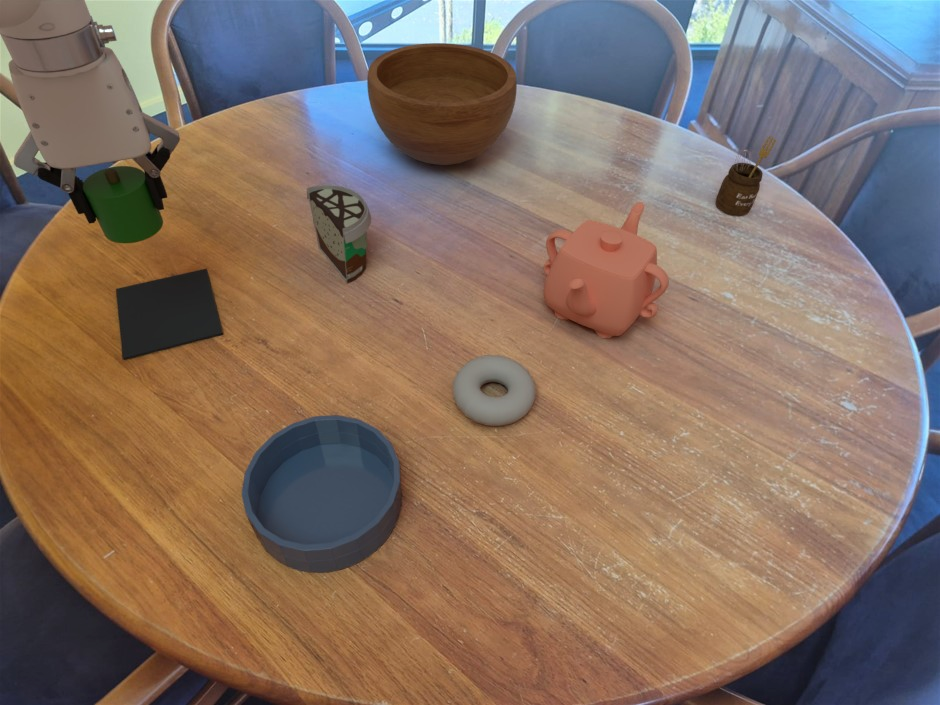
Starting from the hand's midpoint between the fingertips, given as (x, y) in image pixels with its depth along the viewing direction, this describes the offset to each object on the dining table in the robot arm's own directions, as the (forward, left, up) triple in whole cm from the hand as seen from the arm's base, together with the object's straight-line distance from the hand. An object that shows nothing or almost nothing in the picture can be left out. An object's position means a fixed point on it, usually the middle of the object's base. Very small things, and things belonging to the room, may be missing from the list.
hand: (126, 208), depth 70 cm
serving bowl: (+12, -35, -17) cm, 40 cm away
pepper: (0, 0, -2) cm, 2 cm away
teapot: (+54, -20, -17) cm, 60 cm away
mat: (0, +1, -17) cm, 17 cm away
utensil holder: (+90, -7, -17) cm, 91 cm away
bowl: (+50, +26, -17) cm, 59 cm away
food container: (+26, +3, -17) cm, 31 cm away
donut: (+34, -29, -17) cm, 47 cm away
